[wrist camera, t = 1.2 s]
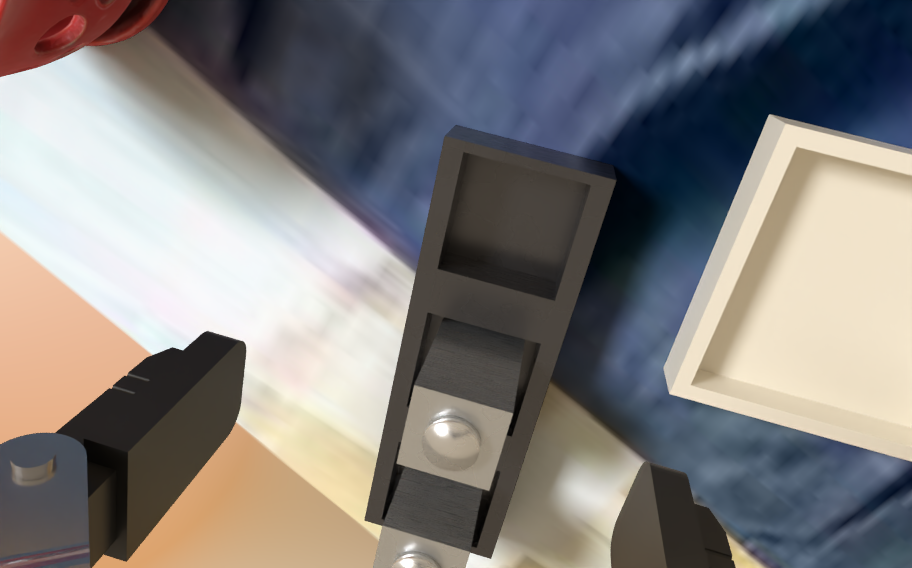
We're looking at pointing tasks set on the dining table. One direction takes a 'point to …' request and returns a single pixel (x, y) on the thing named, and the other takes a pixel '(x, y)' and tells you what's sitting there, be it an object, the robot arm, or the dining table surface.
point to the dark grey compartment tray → (497, 285)
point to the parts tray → (809, 292)
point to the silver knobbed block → (462, 404)
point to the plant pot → (66, 28)
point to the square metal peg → (428, 523)
